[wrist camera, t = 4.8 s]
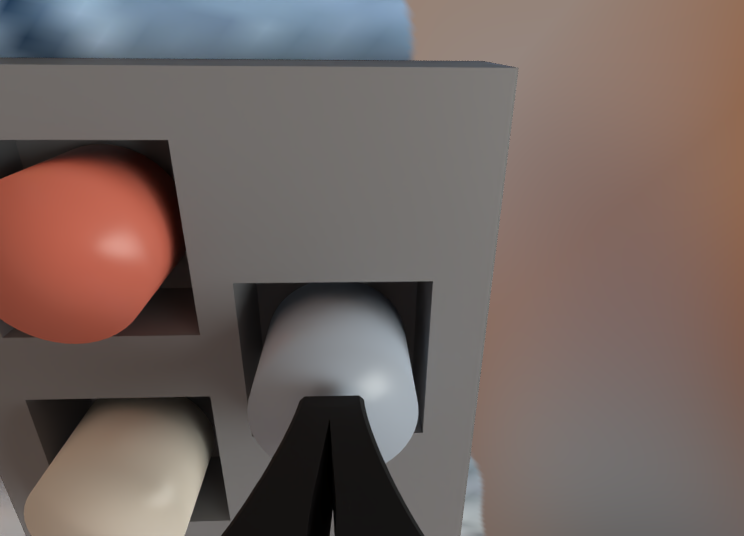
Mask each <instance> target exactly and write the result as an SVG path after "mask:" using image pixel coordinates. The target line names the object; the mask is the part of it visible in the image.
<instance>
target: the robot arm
mask: <svg viewBox="0 0 744 536" xmlns="http://www.w3.org/2000/svg"><path fill="white" fill-rule="evenodd" d="M332 513H333V518H334V534H335V536H424V534H423V532H422V531H421V529H420V528H419V526H418V524H417V523H416V521H415V519H414V518H413V516H412V514H411V512H410V511H409V509H408V507H407V505H406V503H405V502H404V500H403V498H402V496H401V494H400V492H399V490H398V488H397V487H396V485H395V483H394V481H393V479H392V477H391V475H390V472H389V470H388V468H387V466H386V464H385V461H384V459H383V457H382V455H381V452H380V450H379V448H378V445H377V443H376V440H375V438H374V435H373V432H372V429H371V426H370V423H369V420H368V416H367V413H366V408H365V403H364V399H363V398H362V397H361V396H359V395H353V396H304V397H303V398H302V399H301V400H300V401H299V404H298V406H297V409H296V412H295V414H294V416H293V419H292V421H291V423H290V425H289V427H288V429H287V431H286V433H285V435H284V437H283V439H282V441H281V443H280V445H279V447H278V448H277V450H276V452H275V454H274V456H273V457H272V459H271V461H270V463H269V464H268V466H267V468H266V470H265V471H264V473H263V475H262V476H261V478H260V479H259V481H258V483H257V484H256V486H255V487H254V489H253V490H252V492H251V493H250V495H249V496H248V498H247V500H246V501H245V503H244V504H243V506H242V507H241V509H240V510H239V512H238V513H237V514H236V516H235V517H234V519H233V520H232V521H231V523H230V524H229V526H228V527H227V528H226V530H225V531H224V532H223V534H222V535H221V536H330V530H331V522H332Z"/></svg>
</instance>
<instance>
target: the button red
mask: <svg viewBox="0 0 744 536" xmlns="http://www.w3.org/2000/svg"><path fill="white" fill-rule="evenodd" d="M185 251H186V246H185V240H184V234H183V228H182V222H181V216H180V209H179V203H178V197H177V191H176V185H175V181H174V180H173V179H172V178H171V177H170V176H169V174H168V173H167V172H165V171H164V170H163V169H162V168H161V167H160V166H159V165H157V164H156V163H155V162H153V161H152V160H151V159H149V158H147V157H145V156H144V155H142V154H140V153H138V152H135V151H133V150H131V149H127V148H124V147H121V146H116V145H110V144H91V145H86V146H81V147H78V148H75V149H72V150H70V151H67V152H65V153H63V154H60V155H58V156H55V157H53V158H50V159H48V160H45V161H43V162H41V163H38V164H36V165H33V166H31V167H28V168H26V169H24V170H21V171H19V172H16V173H14V174H11V175H9V176H6V177H4V178H2V179H0V319H1V320H3V321H4V322H5V323H7V324H9V325H10V326H12V327H14V328H16V329H17V330H20V331H22V332H24V333H26V334H28V335H31V336H34V337H37V338H40V339H43V340H47V341H52V342H58V343H65V344H82V343H91V342H96V341H100V340H103V339H107V338H109V337H111V336H113V335H116V334H118V333H119V332H121V331H122V330H124V329H125V328H126V327H127V326H129V325H130V324H131V323H132V322H133V321H134V320H135V318H136V317H137V316H138V315H139V313H140V312H141V311H142V309H143V308H144V307H145V305H146V304H147V303H148V301H149V300H150V299H151V297H152V296H153V295H154V294H155V292H156V291H157V290H158V288H159V287H160V286H161V284H162V283H163V282H164V280H165V279H166V278H167V276H168V275H169V274H170V272H171V271H172V270H173V269H174V267H175V266H176V265H177V263H178V262H179V261H180V259H181V258H182V256H183V255H184V253H185Z"/></svg>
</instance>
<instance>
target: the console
mask: <svg viewBox="0 0 744 536" xmlns="http://www.w3.org/2000/svg"><path fill="white" fill-rule="evenodd" d="M517 76H518V68H516V67H511V66H506V65H501V64H496V63H491V62H485V61H394V60H255V59H116V58H0V179H2V178H4V177H6V176H9V175H11V174H14V173H16V172H19V171H21V170H24V169H26V168H28V167H31V166H33V165H36V164H38V163H41V162H43V161H45V160H48V159H50V158H53V157H55V156H58V155H60V154H63V153H65V152H67V151H70V150H72V149H75V148H78V147H81V146H86V145H91V144H110V145H116V146H121V147H124V148H127V149H131V150H133V151H135V152H138V153H140V154H142V155H144V156H145V157H147V158H149V159H151V160H152V161H153V162H155V163H156V164H157V165H159V166H160V167H161V168H162V169H163V170H164V171H165V172H167V173H168V174H169V176H170V177H171V178H172V179H173V180H174V181H175V185H176V191H177V197H178V203H179V209H180V216H181V222H182V228H183V234H184V240H185V246H186V251H185V253H184V255H183V256H182V258H181V259H180V261H179V262H178V263H177V265H176V266H175V267H174V269H173V270H172V271H171V272H170V274H169V275H168V276H167V278H166V279H165V280H164V282H163V283H162V284H161V286H160V287H159V288H158V290H157V291H156V292H155V294H154V295H153V296H152V297H151V299H150V300H149V301H148V303H147V304H146V305H145V307H144V308H143V309H142V311H141V312H140V313H139V315H138V316H137V317H136V318H135V320H134V321H133V322H132V323H131V324H130V325H129V326H127V327H126V328H125V329H124V330H122V331H121V332H119V333H118V334H116V335H113V336H111V337H109V338H107V339H103V340H100V341H96V342H91V343H82V344H65V343H58V342H52V341H47V340H43V339H40V338H37V337H34V336H31V335H28V334H26V333H24V332H22V331H20V330H17V329H16V328H14V327H12V326H10V325H9V324H7V323H5V322H4V321H3V320H1V319H0V476H1V478H2V481H3V483H4V485H5V488H6V490H7V492H8V495H9V497H10V499H11V502H12V504H13V506H14V509H15V511H16V513H17V516H18V518H19V520H20V523H21V525H22V528H23V530H24V532H25V535H26V536H31V534H30V533H29V531H28V529H27V526H26V523H25V520H24V506H25V503H26V500H27V498H28V496H29V494H30V493H31V491H32V490H33V488H34V487H35V485H36V484H37V483H38V481H39V480H40V478H41V477H42V475H43V474H44V473H45V471H46V470H47V468H48V467H49V465H50V464H51V463H52V461H53V460H54V458H55V457H56V455H57V454H58V453H59V451H60V450H61V448H62V447H63V445H64V444H65V443H66V441H67V440H68V438H69V437H70V435H71V434H72V433H73V431H74V430H75V428H76V427H77V425H78V424H79V423H80V421H81V420H82V418H83V417H84V415H85V414H86V413H87V411H88V410H89V408H90V407H91V406H92V404H93V403H94V402H95V401H96V400H97V399H98V398H149V397H186V398H188V399H189V400H191V401H192V402H193V403H195V404H196V405H197V406H198V407H199V408H200V409H201V410H202V411H203V412H204V413H205V415H206V416H207V418H208V419H209V421H210V423H211V425H212V428H213V431H214V438H215V442H214V448H213V452H212V455H211V458H210V461H209V464H208V467H207V470H206V473H205V476H204V479H203V482H202V485H201V488H200V491H199V494H198V497H197V500H196V503H195V506H194V509H193V512H192V515H191V518H190V521H189V524H188V527H187V530H186V533H185V536H221V535H222V534H223V532H224V531H225V530H226V528H227V527H228V526H229V524H230V523H231V521H232V520H233V519H234V517H235V516H236V514H237V513H238V512H239V510H240V509H241V507H242V506H243V504H244V503H245V501H246V500H247V498H248V496H249V495H250V493H251V492H252V490H253V489H254V487H255V486H256V484H257V483H258V481H259V479H260V478H261V476H262V475H263V473H264V471H265V470H266V468H267V466H268V464H269V463H270V461H271V459H272V457H270V456H269V455H268V454H267V453H266V452H265V451H264V450H263V449H262V448H261V446H260V445H259V444H258V443H257V441H256V439H255V438H254V436H253V434H252V431H251V429H250V426H249V421H248V414H247V407H248V400H249V396H250V393H251V389H252V385H253V382H254V378H255V375H256V371H257V368H258V364H259V360H260V357H261V353H262V350H263V346H264V343H265V339H266V335H267V332H268V328H269V325H270V322H271V318H272V316H273V314H274V312H275V310H276V309H277V307H278V306H279V304H280V303H281V302H282V301H283V300H284V299H285V298H286V297H287V296H288V295H290V294H291V293H292V292H294V291H295V290H297V289H299V288H300V287H303V286H305V285H307V284H310V283H314V282H360V283H363V284H365V285H368V286H370V287H372V288H374V289H376V290H377V291H379V292H380V293H382V294H383V295H384V296H386V297H387V298H388V299H389V300H390V301H391V302H392V304H393V305H394V306H395V308H396V309H397V311H398V313H399V314H400V316H401V319H402V322H403V325H404V330H405V336H406V341H407V347H408V352H409V358H410V363H411V369H412V374H413V380H414V385H415V391H416V396H417V402H418V420H417V425H416V428H415V431H414V433H413V435H412V437H411V439H410V440H409V442H408V443H407V445H406V446H405V447H404V448H403V449H402V451H401V452H400V453H399V454H397V455H396V456H395V457H394V458H393V459H391V460H390V461H388V462H387V463H385V464H386V466H387V468H388V470H389V472H390V475H391V477H392V479H393V481H394V483H395V485H396V487H397V488H398V490H399V492H400V494H401V496H402V498H403V500H404V502H405V503H406V505H407V507H408V509H409V511H410V512H411V514H412V516H413V518H414V519H415V521H416V523H417V524H418V526H419V528H420V529H421V531H422V532H423V534H424V536H460V534H461V526H462V518H463V510H464V502H465V494H466V486H467V478H468V470H469V462H470V454H471V446H472V438H473V429H474V422H475V413H476V406H477V398H478V390H479V382H480V374H481V365H482V357H483V349H484V341H485V333H486V325H487V316H488V309H489V301H490V293H491V285H492V277H493V269H494V261H495V252H496V245H497V237H498V229H499V221H500V213H501V204H502V197H503V188H504V180H505V172H506V165H507V157H508V149H509V140H510V132H511V124H512V116H513V108H514V100H515V92H516V84H517ZM330 536H335V534H334V518H333V513H332V522H331V530H330Z"/></svg>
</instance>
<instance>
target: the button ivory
mask: <svg viewBox="0 0 744 536" xmlns="http://www.w3.org/2000/svg"><path fill="white" fill-rule="evenodd" d="M214 442H215V438H214V431H213V428H212V425H211V423H210V421H209V419H208V418H207V416H206V415H205V413H204V412H203V411H202V410H201V409H200V408H199V407H198V406H197V405H196V404H195V403H193V402H192V401H191V400H189V399H188V398H186V397H149V398H98V399H97V400H96V401H95V402H94V403H93V404H92V406H91V407H90V408H89V410H88V411H87V413H86V414H85V415H84V417H83V418H82V420H81V421H80V423H79V424H78V425H77V427H76V428H75V430H74V431H73V433H72V434H71V435H70V437H69V438H68V440H67V441H66V443H65V444H64V445H63V447H62V448H61V450H60V451H59V453H58V454H57V455H56V457H55V458H54V460H53V461H52V463H51V464H50V465H49V467H48V468H47V470H46V471H45V473H44V474H43V475H42V477H41V478H40V480H39V481H38V483H37V484H36V485H35V487H34V488H33V490H32V491H31V493H30V494H29V496H28V498H27V500H26V503H25V506H24V520H25V523H26V526H27V529H28V531H29V533H30V534H31V536H185V533H186V530H187V527H188V524H189V521H190V518H191V515H192V512H193V509H194V506H195V503H196V500H197V497H198V494H199V491H200V488H201V485H202V482H203V479H204V476H205V473H206V470H207V467H208V464H209V461H210V458H211V455H212V452H213V448H214Z"/></svg>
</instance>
